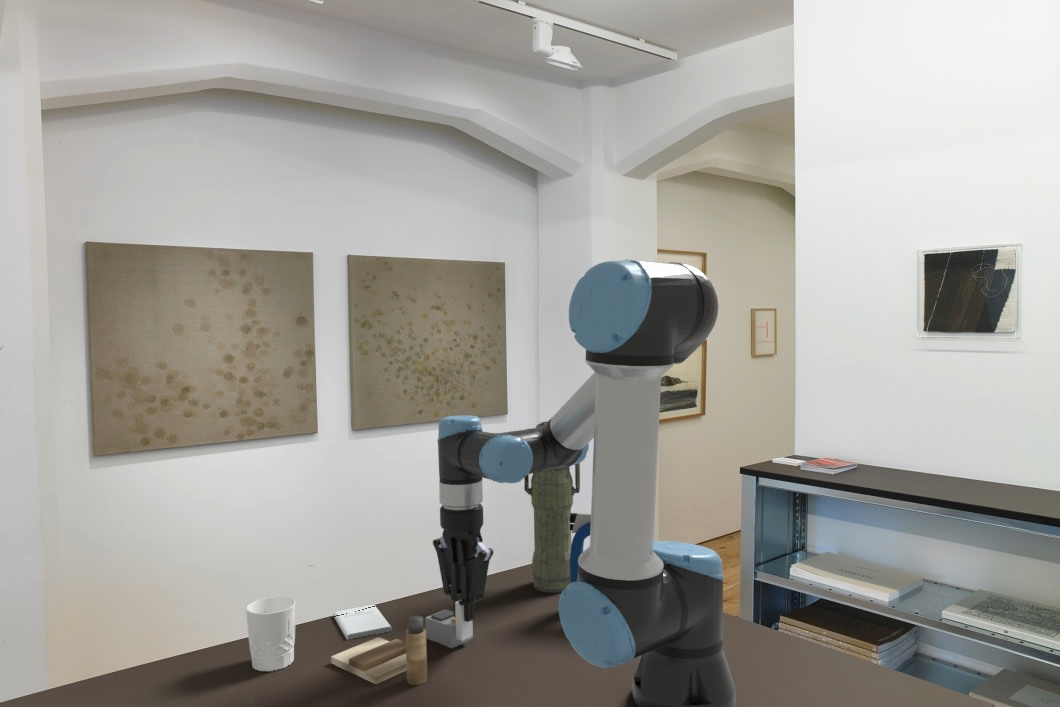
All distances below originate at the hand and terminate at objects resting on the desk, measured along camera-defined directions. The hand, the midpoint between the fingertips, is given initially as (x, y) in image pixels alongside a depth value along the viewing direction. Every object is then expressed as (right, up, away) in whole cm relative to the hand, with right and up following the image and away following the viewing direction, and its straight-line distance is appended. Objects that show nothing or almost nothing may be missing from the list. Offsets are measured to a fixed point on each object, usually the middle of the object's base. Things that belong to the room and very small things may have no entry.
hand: (464, 637), depth 136 cm
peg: (-7, -2, -13) cm, 14 cm away
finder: (-3, -2, +3) cm, 5 cm away
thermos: (+16, 0, +29) cm, 34 cm away
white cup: (-32, -3, -5) cm, 32 cm away
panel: (-14, -2, -6) cm, 15 cm away
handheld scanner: (+28, 0, +15) cm, 31 cm away
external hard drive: (-20, -2, +11) cm, 23 cm away
